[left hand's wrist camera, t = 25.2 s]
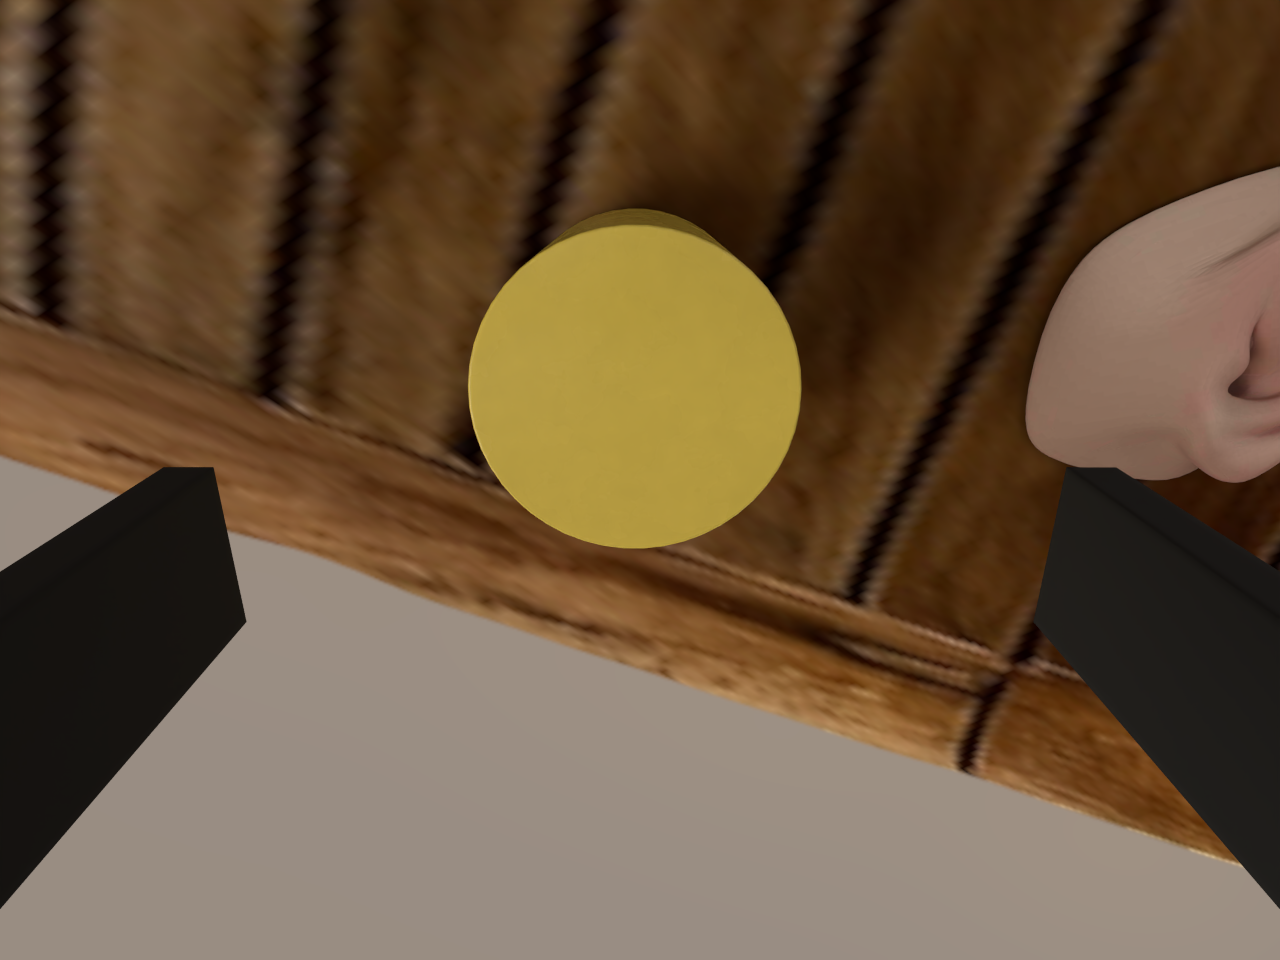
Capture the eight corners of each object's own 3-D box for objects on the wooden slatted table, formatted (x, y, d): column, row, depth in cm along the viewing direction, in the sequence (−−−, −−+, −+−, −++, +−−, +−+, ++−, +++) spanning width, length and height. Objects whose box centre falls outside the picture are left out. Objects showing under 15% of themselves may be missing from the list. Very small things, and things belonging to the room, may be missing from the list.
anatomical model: (1074, 543, 29) (1075, 224, 25) (1025, 502, 33) (1019, 217, 29) (1450, 478, 29) (1513, 137, 24) (1356, 443, 32) (1398, 142, 28)
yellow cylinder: (767, 218, 29) (826, 238, 20) (738, 452, 32) (777, 559, 23) (519, 198, 29) (466, 210, 20) (514, 436, 32) (467, 539, 23)
